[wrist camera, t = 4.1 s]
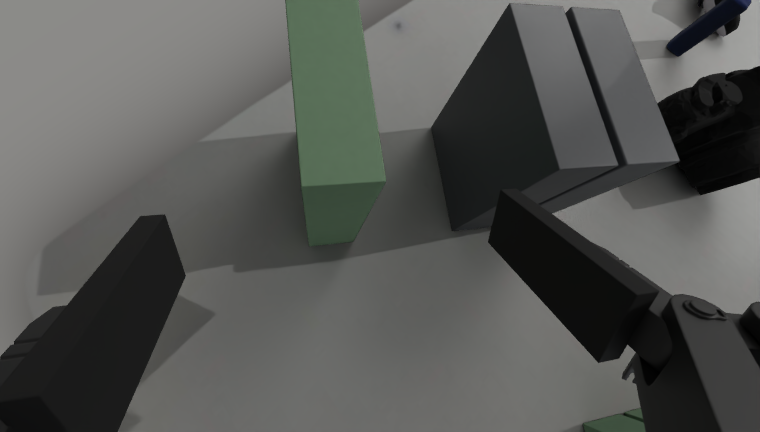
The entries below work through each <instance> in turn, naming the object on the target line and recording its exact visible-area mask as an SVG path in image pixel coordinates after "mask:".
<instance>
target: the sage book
mask: <svg viewBox="0 0 760 432" xmlns="http://www.w3.org/2000/svg"><path fill="white" fill-rule="evenodd" d="M285 3H286V15H287V27H288V39H289V51H290V63H291V74H292V86H293V98H294V110H295V122H296V134H297V145H298V157H299V169H300V181H301V190H302V198H303V206H304V213H305V221H306V228H307V236H308V243H309V246H318V245H327V244H337V243H346V242H353V241H354V240H355V238H356V236H357V234H358V232H359V230H360V228H361V227H362V225H363V223H364V221H365V219H366V217H367V216H368V214H369V212H370V210H371V208H372V206H373V204H374V203H375V201H376V199H377V197H378V195H379V193H380V192H381V190H382V188H383V186H384V184H385V182H386V177H385V170H384V164H383V157H382V151H381V144H380V138H379V131H378V125H377V118H376V112H375V105H374V99H373V93H372V86H371V80H370V73H369V67H368V60H367V54H366V47H365V41H364V34H363V28H362V21H361V15H360V9H359V2H358V0H285Z"/></svg>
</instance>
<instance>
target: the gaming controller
mask: <svg viewBox="0 0 760 432" xmlns="http://www.w3.org/2000/svg"><path fill="white" fill-rule="evenodd" d="M721 1H722V0H699V1H698V6H699V7H700V5H701V4H702V8H704V10H705V13H707V12H708V11H709V10H711V9H712V8H713V7H714V6H716V5H717V4H719V3H720V2H721ZM739 22H740V15H738V16H737V17H735V18H734V19H732V20H731V21H729V22H728V23H726V24H725V25H723V26H722V27H721V28H719V29H718V30H716V32H717V33H718V34H719V35H720V36H722V37H724V36H726V35H728V34H729V33H731V32H732V31H734V30H736V29H737V28H738V26H739Z"/></svg>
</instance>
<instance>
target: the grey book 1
mask: <svg viewBox="0 0 760 432" xmlns="http://www.w3.org/2000/svg"><path fill="white" fill-rule="evenodd" d="M431 128H432V133H433V138H434V143H435V148H436V153H437V158H438V163H439V168H440V173H441V178H442V183H443V188H444V193H445V198H446V203H447V208H448V213H449V218H450V223H451V228H452V231H459V230H469V229H478V228H488V227H490V226H492V223H493V219H494V215H495V211H496V206H497V202H498V198H499V194H500V190H503V189H517V190H519V191H520V192H522V193H523V194H524V195H526V196H527V197H529V198H530V199H531V200H533V201H534V202H536V203H537V204H539V203H541V202H543V201H545V200H547V199H549V198H552V197H554V196H556V195H558V194H560V193H562V192H564V191H566V190H568V189H571V188H573V187H575V186H577V185H579V184H581V183H583V182H585V181H587V180H590V179H592V178H594V177H596V176H598V175H600V174H602V173H604V172H606V171H609V170H611V169H613V168H615V167H617V166H618V163H617V160H616V157H615V154H614V151H613V148H612V145H611V143H610V140H609V137H608V134H607V131H606V128H605V125H604V123H603V120H602V117H601V114H600V111H599V108H598V105H597V103H596V100H595V97H594V94H593V91H592V88H591V85H590V83H589V80H588V77H587V74H586V71H585V68H584V65H583V63H582V60H581V57H580V54H579V51H578V48H577V45H576V43H575V40H574V37H573V34H572V31H571V28H570V25H569V23H568V20H567V17H566V14H565V11H564V8H563V7H562V6H549V5H533V4H516V3H509V5H508V6H507V8H506V9H505V11H504V13H503V14H502V16H501V17H500V19H499V21H498V22H497V24H496V25H495V27H494V29H493V30H492V32H491V33H490V35H489V36H488V38H487V40H486V41H485V43H484V44H483V46H482V48H481V49H480V51H479V52H478V54H477V56H476V57H475V59H474V60H473V62H472V63H471V65H470V67H469V68H468V70H467V71H466V73H465V75H464V76H463V78H462V79H461V81H460V82H459V84H458V86H457V87H456V89H455V90H454V92H453V94H452V95H451V97H450V98H449V100H448V102H447V103H446V105H445V106H444V108H443V109H442V111H441V113H440V114H439V116H438V117H437V119H436V121H435V122H434V124H433V125H432V127H431Z"/></svg>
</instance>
